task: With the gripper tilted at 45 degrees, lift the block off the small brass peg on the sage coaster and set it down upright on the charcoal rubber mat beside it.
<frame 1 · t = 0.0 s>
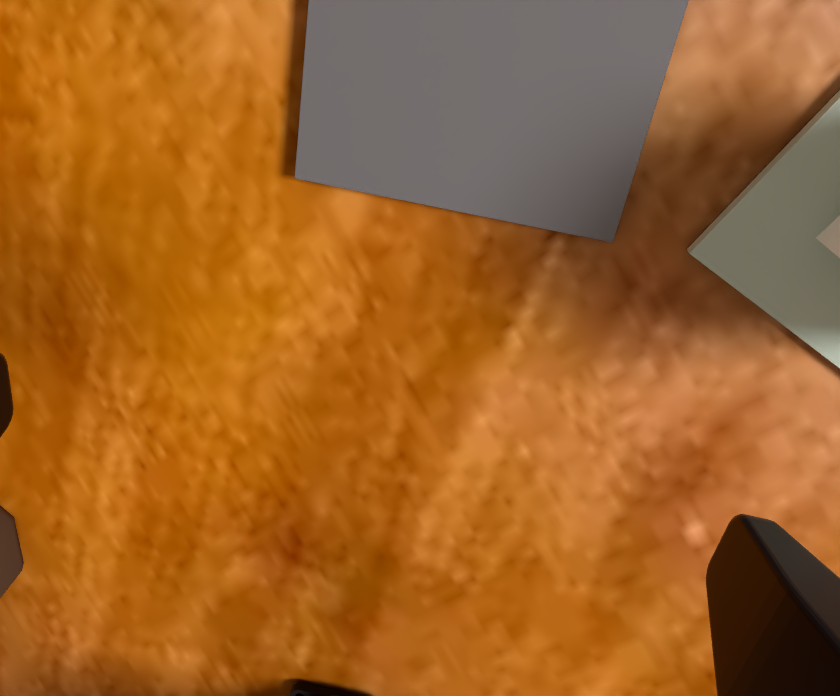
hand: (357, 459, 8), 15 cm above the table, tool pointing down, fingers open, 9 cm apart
mat: (490, 14, 19), on the table
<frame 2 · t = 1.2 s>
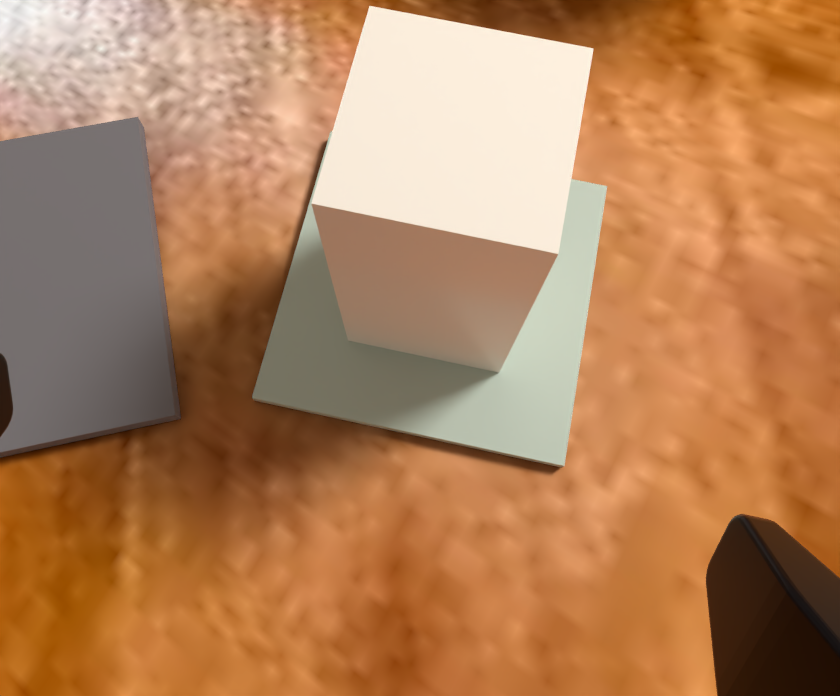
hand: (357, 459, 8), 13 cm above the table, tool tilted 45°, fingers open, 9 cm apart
mat: (10, 292, 23), on the table
coaster: (438, 290, 23), on the table
block: (438, 286, 23), resting on coaster
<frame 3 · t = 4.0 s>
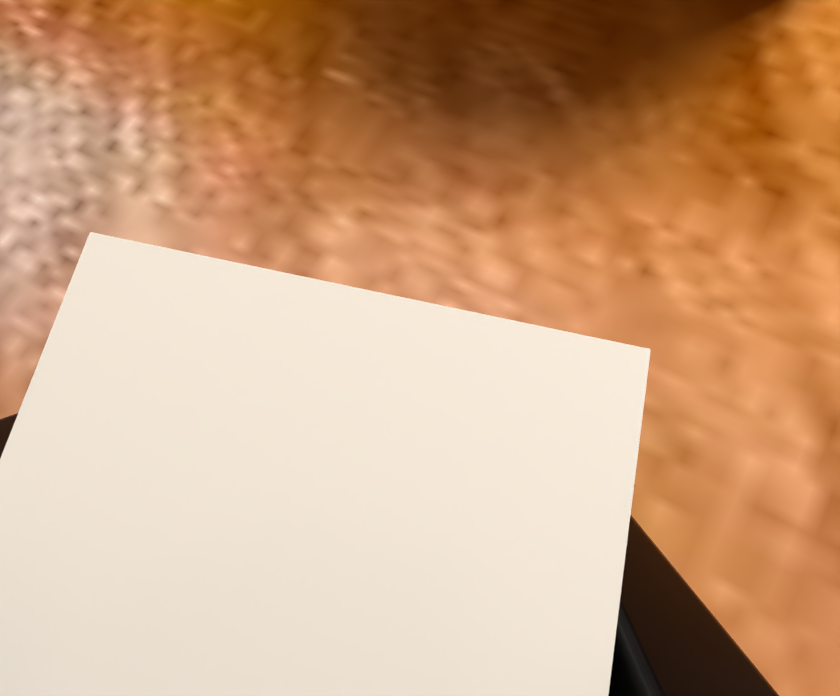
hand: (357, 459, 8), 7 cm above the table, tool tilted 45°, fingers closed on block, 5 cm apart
block: (361, 569, 14), resting on coaster, touching gripper
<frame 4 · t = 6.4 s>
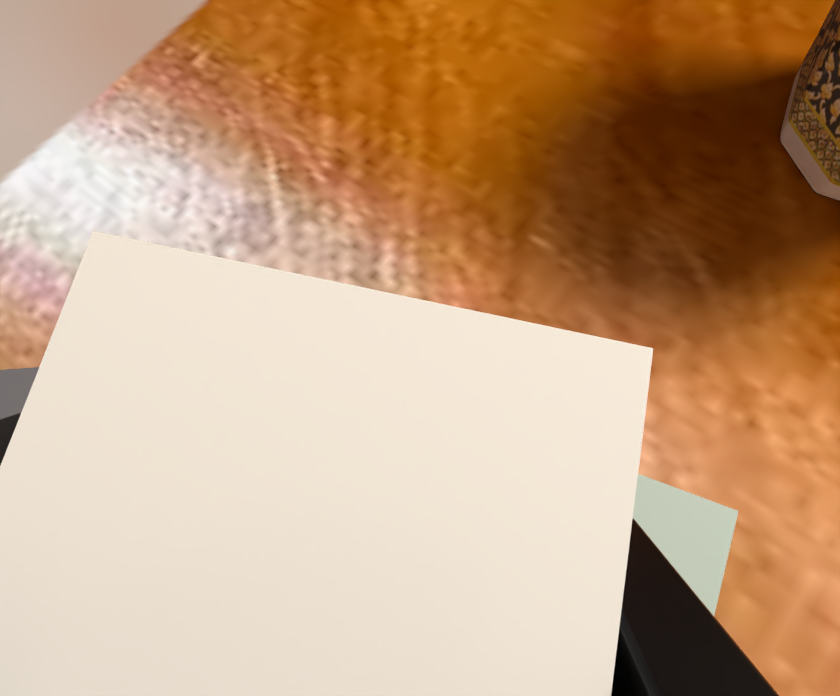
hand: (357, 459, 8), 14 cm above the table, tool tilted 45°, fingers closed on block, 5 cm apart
mat: (62, 545, 21), on the table
coaster: (531, 611, 21), on the table
block: (362, 568, 14), point 7 cm above the table, touching gripper
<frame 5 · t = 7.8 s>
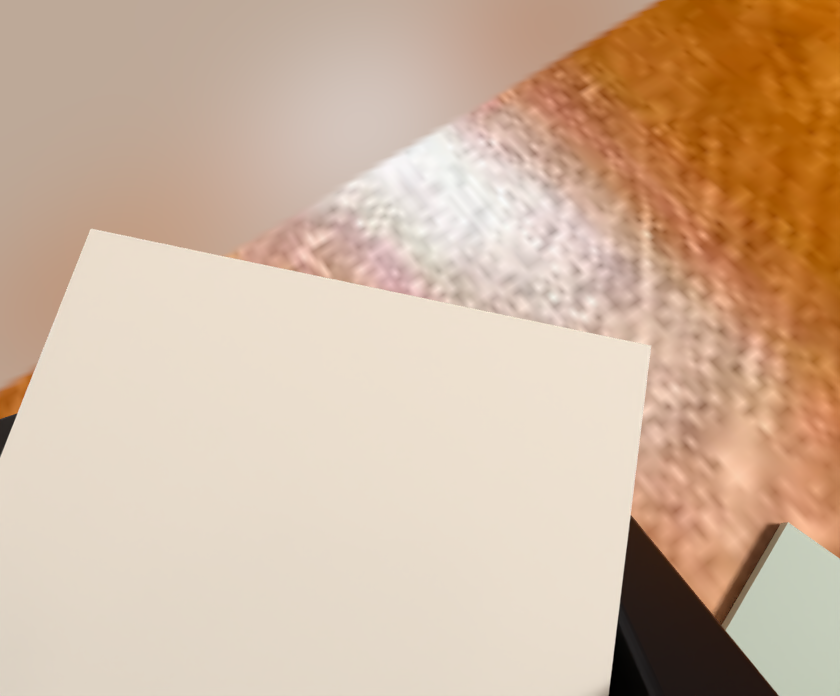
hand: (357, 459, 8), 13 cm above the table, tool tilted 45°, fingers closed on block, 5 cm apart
block: (361, 568, 14), point 6 cm above the table, touching gripper
when the fingers open (8 cm above the table, at t = 9.1 s): block drops 1 cm, resting on mat.
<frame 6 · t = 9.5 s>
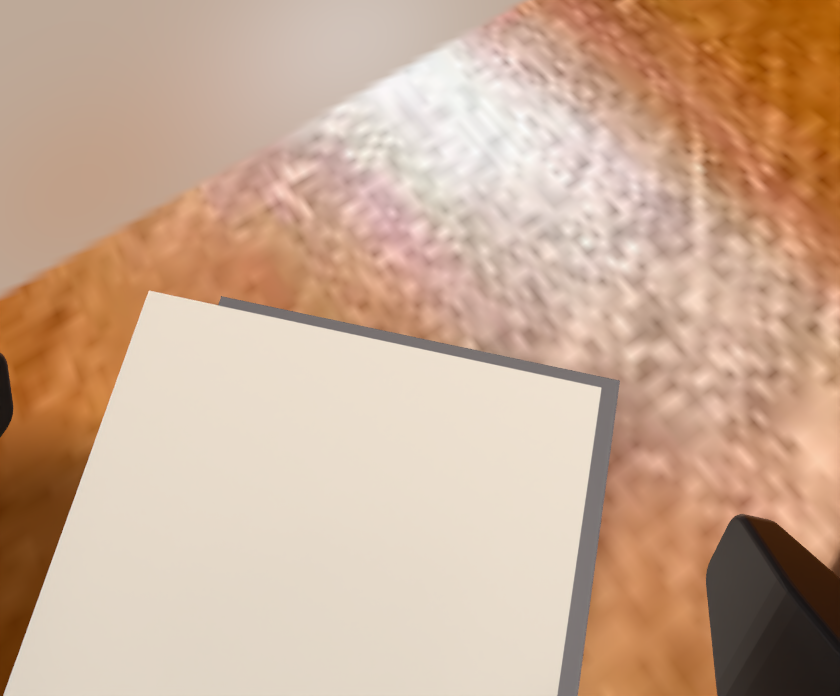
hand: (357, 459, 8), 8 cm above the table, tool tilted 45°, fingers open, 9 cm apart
mat: (366, 567, 16), on the table
block: (364, 566, 15), point 1 cm above the table, touching mat
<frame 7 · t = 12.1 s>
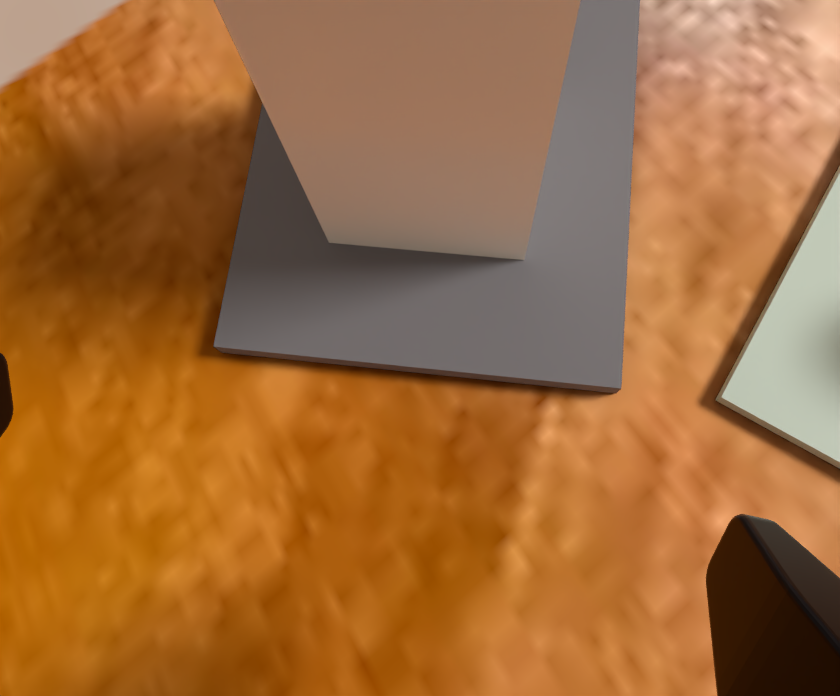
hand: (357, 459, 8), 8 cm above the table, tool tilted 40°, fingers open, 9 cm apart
mat: (438, 175, 19), on the table
block: (436, 163, 18), point 1 cm above the table, touching mat
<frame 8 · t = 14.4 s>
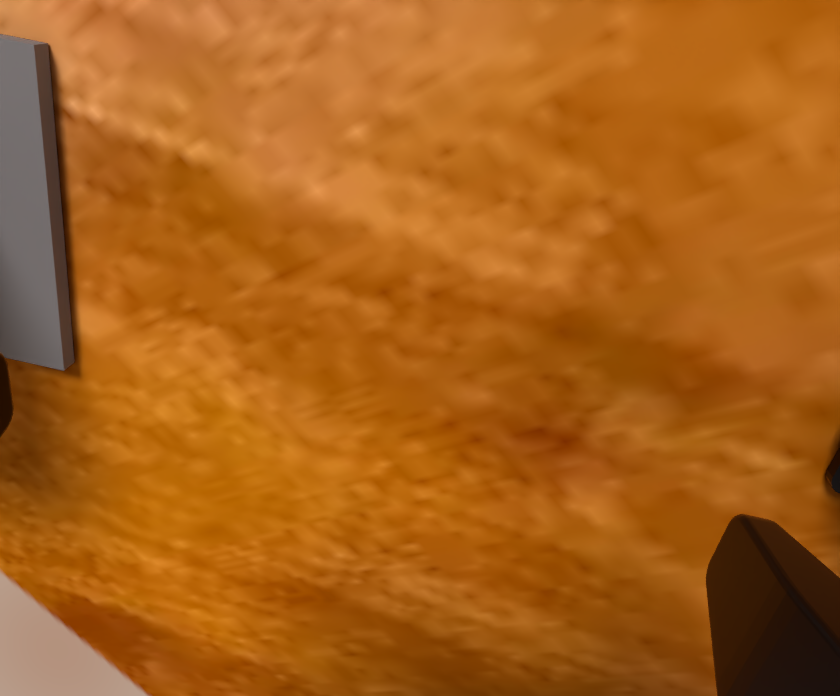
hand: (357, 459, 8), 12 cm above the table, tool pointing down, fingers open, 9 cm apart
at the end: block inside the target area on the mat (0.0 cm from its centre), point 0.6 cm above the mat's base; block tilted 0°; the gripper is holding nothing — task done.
